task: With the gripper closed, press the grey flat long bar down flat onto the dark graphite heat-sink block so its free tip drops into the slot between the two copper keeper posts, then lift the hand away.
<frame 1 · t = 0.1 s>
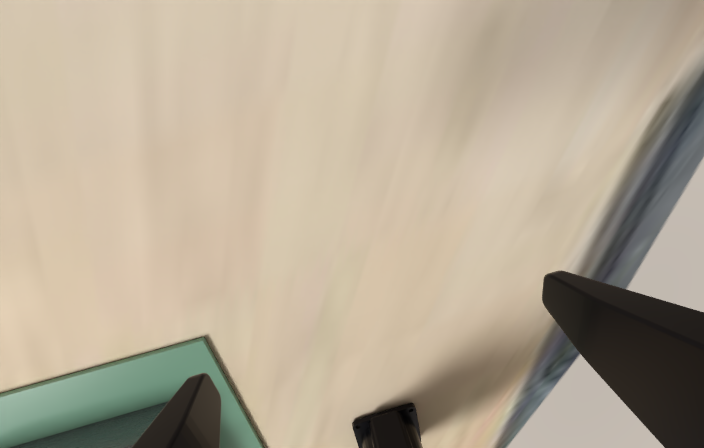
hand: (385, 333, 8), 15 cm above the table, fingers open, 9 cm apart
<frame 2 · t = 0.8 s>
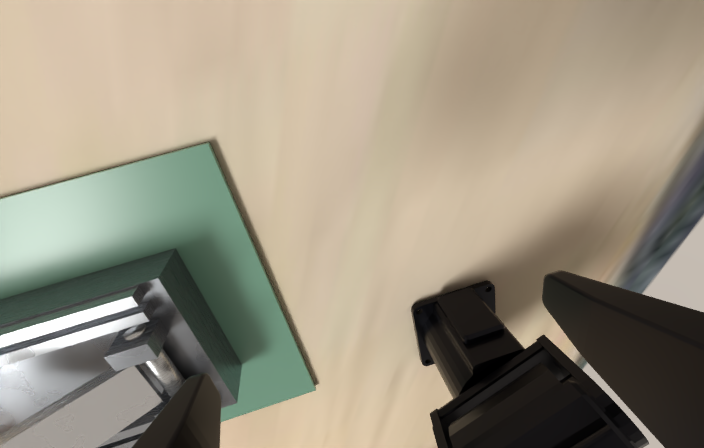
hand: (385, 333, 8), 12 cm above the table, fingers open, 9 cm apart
board: (88, 347, 20), on the table
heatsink: (60, 388, 18), on the board
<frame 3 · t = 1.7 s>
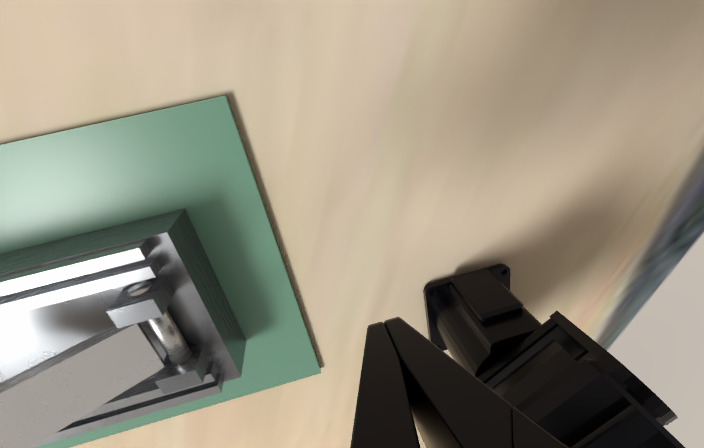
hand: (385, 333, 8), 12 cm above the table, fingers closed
board: (88, 313, 20), on the table
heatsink: (56, 350, 17), on the board
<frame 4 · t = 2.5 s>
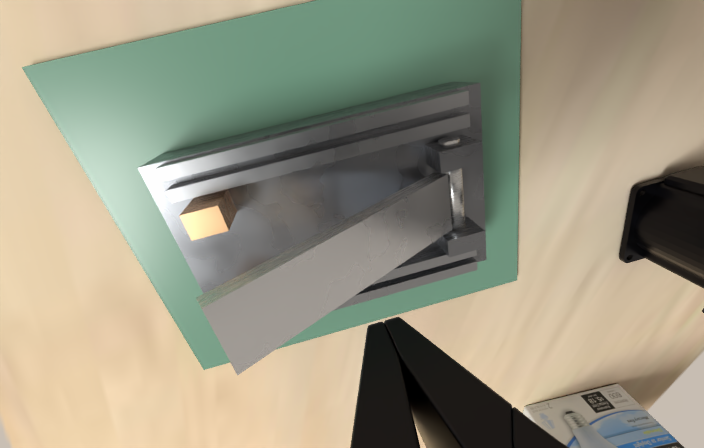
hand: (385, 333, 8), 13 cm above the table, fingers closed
grey flat long bar: (353, 255, 14), point 7 cm above the table, hinge at 28.0°
board: (332, 198, 20), on the table
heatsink: (338, 217, 17), on the board
light bulb box: (563, 412, 34), on the table
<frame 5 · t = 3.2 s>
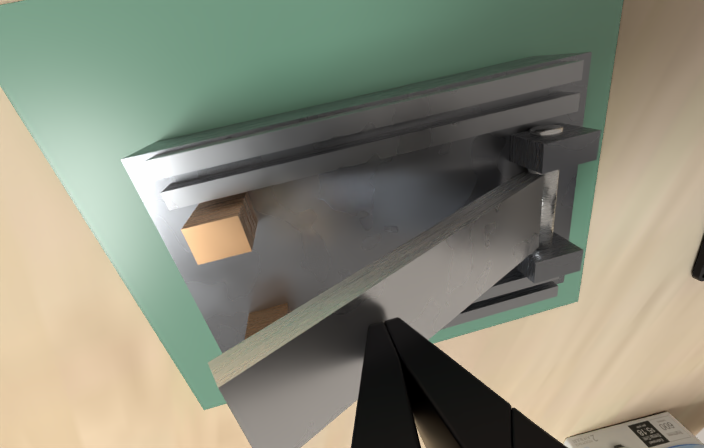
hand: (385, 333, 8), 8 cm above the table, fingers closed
grey flat long bar: (425, 286, 10), point 7 cm above the table, hinge at 26.4°, touching gripper
board: (371, 203, 16), on the table
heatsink: (387, 229, 13), on the board
light bulb box: (605, 443, 31), on the table
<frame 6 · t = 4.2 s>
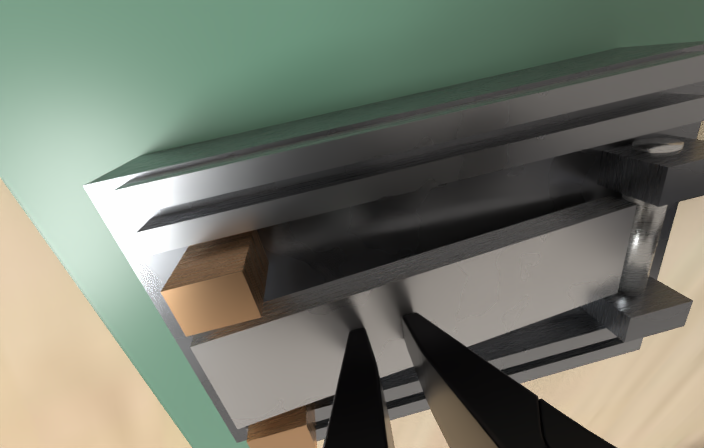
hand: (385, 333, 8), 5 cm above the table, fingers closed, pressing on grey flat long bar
grey flat long bar: (433, 306, 9), point 5 cm above the table, hinge at 4.9°, touching gripper
board: (404, 228, 13), on the table
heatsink: (433, 269, 10), on the board
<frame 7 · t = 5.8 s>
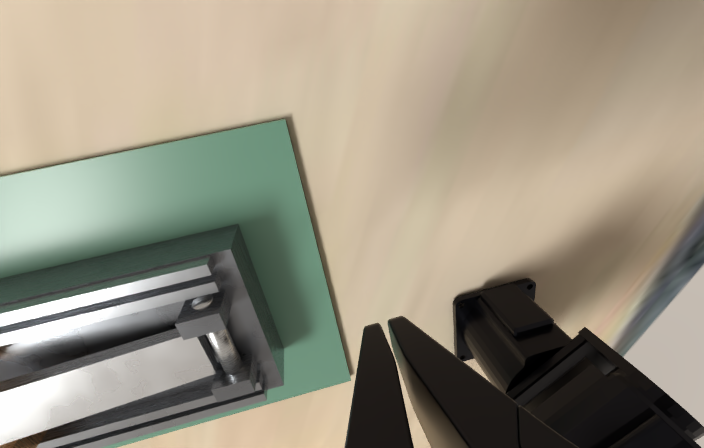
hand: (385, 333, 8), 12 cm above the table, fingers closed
grey flat long bar: (86, 386, 16), point 5 cm above the table, hinge at 4.6°
board: (136, 321, 20), on the table
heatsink: (114, 358, 18), on the board
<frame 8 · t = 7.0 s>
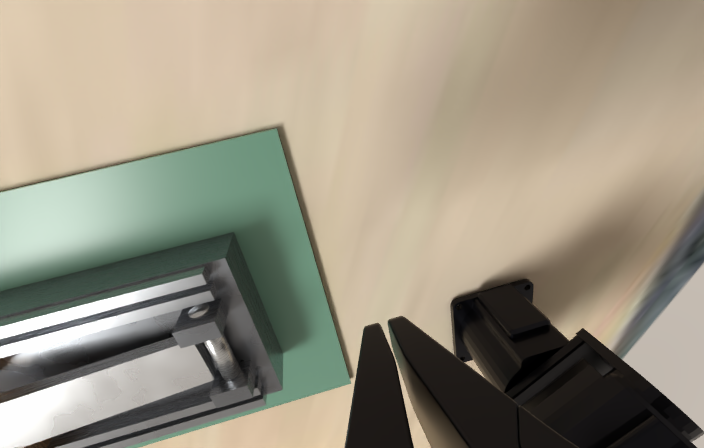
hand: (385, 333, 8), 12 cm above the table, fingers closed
grey flat long bar: (88, 394, 17), point 5 cm above the table, hinge at 4.6°
board: (137, 329, 21), on the table
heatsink: (115, 367, 18), on the board
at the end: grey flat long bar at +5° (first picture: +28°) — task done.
